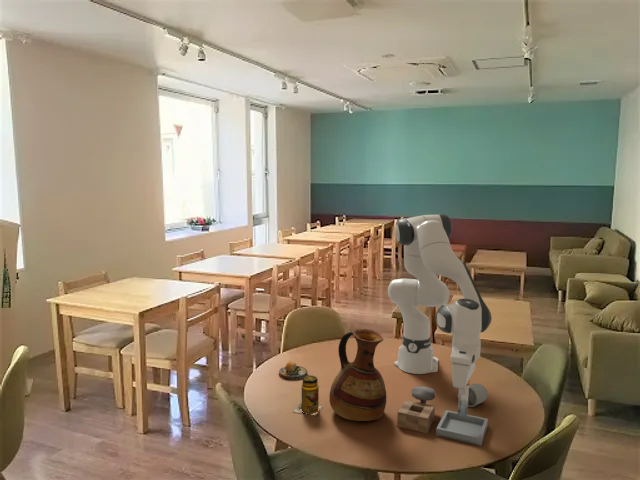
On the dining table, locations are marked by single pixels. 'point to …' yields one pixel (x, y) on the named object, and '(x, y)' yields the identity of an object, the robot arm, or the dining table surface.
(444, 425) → the tray
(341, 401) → the ceramic pitcher
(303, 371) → the burger
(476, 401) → the ceramic mug
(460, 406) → the pin
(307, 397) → the condiment
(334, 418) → the dining table surface
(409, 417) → the block
